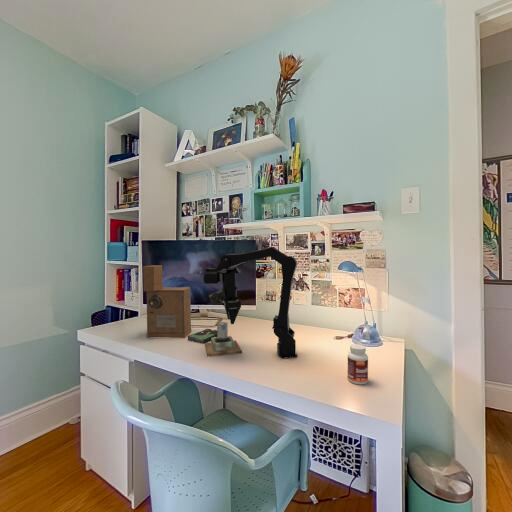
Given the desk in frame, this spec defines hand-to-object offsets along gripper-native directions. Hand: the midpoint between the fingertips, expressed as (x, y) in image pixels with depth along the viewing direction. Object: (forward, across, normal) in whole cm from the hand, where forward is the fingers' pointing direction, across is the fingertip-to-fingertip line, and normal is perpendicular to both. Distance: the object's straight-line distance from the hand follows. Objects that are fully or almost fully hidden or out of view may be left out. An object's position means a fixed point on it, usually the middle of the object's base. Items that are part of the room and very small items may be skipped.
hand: (230, 321), depth 118 cm
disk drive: (+13, -22, -9) cm, 27 cm away
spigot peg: (+11, -4, -3) cm, 12 cm away
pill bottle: (+14, +37, +35) cm, 53 cm away
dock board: (+12, -4, -3) cm, 13 cm away
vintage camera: (+12, -32, -28) cm, 44 cm away
